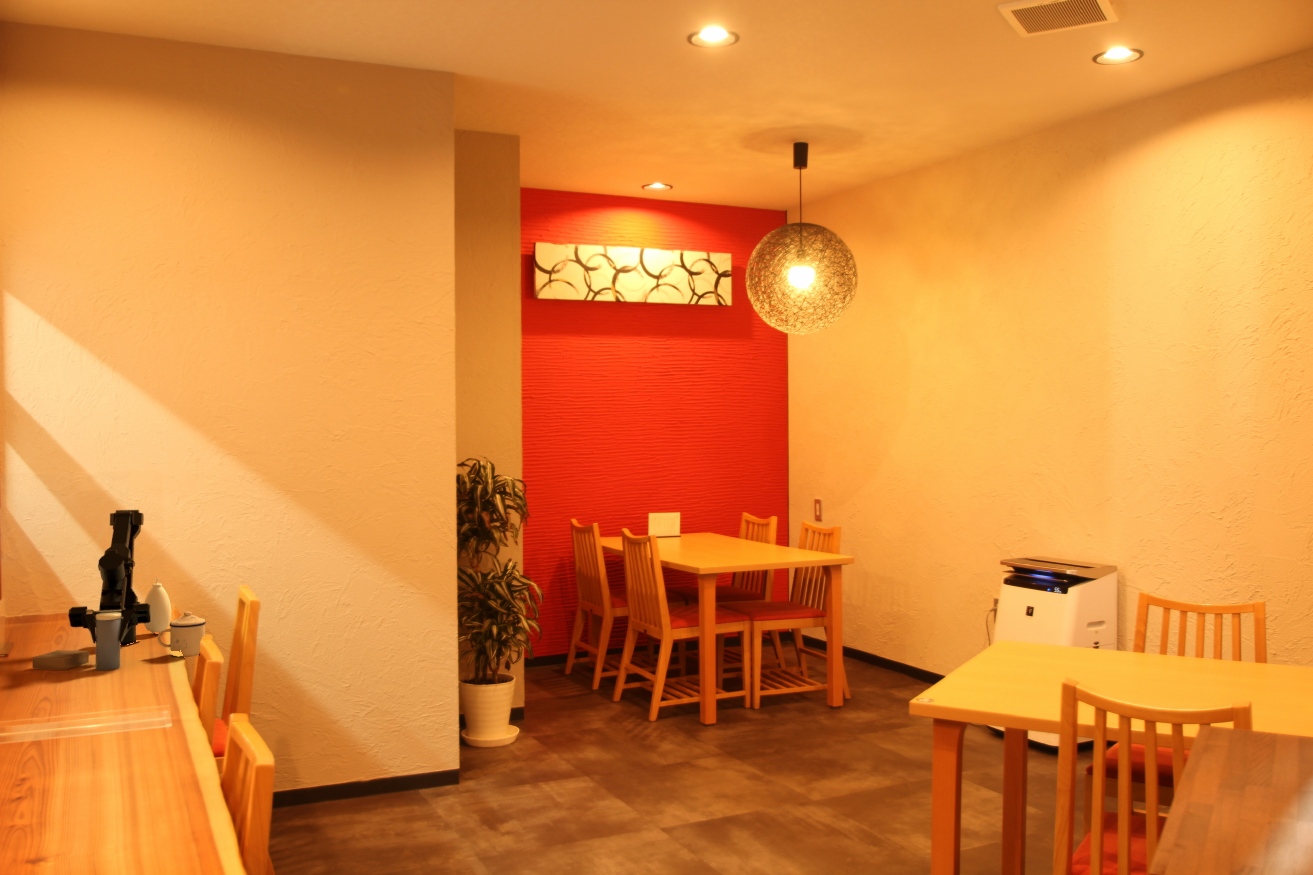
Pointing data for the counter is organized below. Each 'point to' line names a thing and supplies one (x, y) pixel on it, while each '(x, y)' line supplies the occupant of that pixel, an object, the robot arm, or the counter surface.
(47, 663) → the stand
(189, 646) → the teacup with lid
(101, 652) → the canister
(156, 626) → the sauce bottle
